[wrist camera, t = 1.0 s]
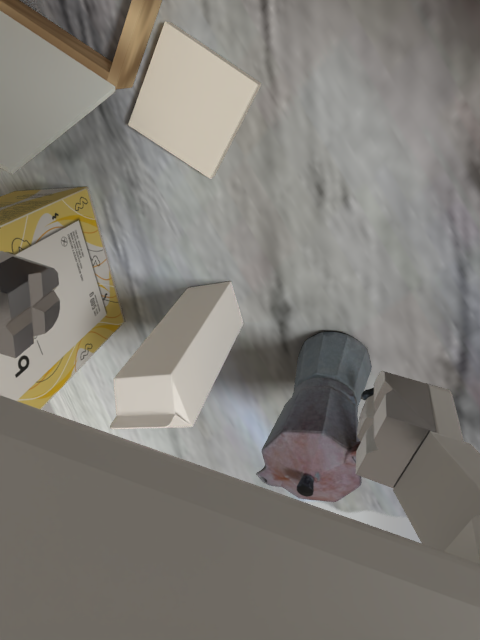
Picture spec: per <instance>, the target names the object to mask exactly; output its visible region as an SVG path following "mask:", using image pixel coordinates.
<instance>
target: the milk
mask: <svg viewBox="0 0 480 640" xmlns="http://www.w3.org/2000/svg"><path fill="white" fill-rule="evenodd" d="M243 323H244V322H243V319H242V316H241V312H240V309H239V306H238V302H237V299H236V296H235V293H234V289H233V286H232V283H231V281H230V282H223V283H217V284H210V285H203V286H197V287H190V288H187V289H186V291H185V292H184V293H183V294H182V296H181V297H180V298H179V299H178V300H177V302H176V303H175V304H174V305H173V307H172V308H171V309H170V310H169V311H168V313H167V314H166V315H165V316H164V318H163V319H162V320H161V321H160V323H159V324H158V325H157V326H156V327H155V329H154V330H153V331H152V332H151V334H150V335H149V336H148V337H147V338H146V340H145V341H144V342H143V343H142V345H141V346H140V347H139V348H138V350H137V351H136V352H135V353H134V354H133V356H132V357H131V358H130V359H129V361H128V362H127V363H126V364H125V366H124V367H123V368H122V369H121V370H120V372H119V373H118V374H117V375H116V377H115V378H114V391H115V403H116V415H117V416H116V418H115V419H114V421H113V422H112V424H111V425H110V428H111V429H133V428H169V427H193V425H194V423H195V421H196V419H197V417H198V415H199V413H200V411H201V409H202V407H203V405H204V403H205V401H206V399H207V397H208V395H209V393H210V391H211V389H212V387H213V384H214V382H215V380H216V378H217V376H218V374H219V372H220V370H221V368H222V366H223V364H224V362H225V360H226V358H227V356H228V354H229V352H230V350H231V348H232V346H233V344H234V342H235V340H236V338H237V336H238V334H239V332H240V330H241V328H242V326H243Z"/></svg>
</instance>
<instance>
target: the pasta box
mask: <svg viewBox="0 0 480 640" xmlns="http://www.w3.org/2000/svg"><path fill="white" fill-rule="evenodd" d="M0 251H3V252H7V253H10V254H13V255H16V256H18V257H22V258H25V259H28V260H31V261H34V262H37V263H40V264H43V265H46V266H49V267H52V268H54V269H55V270H56V271H57V272H58V277H59V285H58V287H57V288H56V289H55V290H54V291H55V293H56V295H57V296H58V298H59V299H60V311H59V316H58V319H57V320H56V322H55V324H54V326H53V327H52V328H51V329H50V330H49V331H48V332H47V333H45V334H42V335H38V336H34V344H32V345H31V346H30V347H29V348H28V349H26V350H25V351H24V352H23V353H22V354H20V355H19V356H18V357H17V358H12V357H9V356H6V355H3V354H0V395H1V396H4V397H7V398H10V399H12V400H15V401H18V402H21V403H24V404H27V405H29V406H32V407H35V408H38V409H42V408H43V407H44V406H45V405H46V403H48V402H49V400H50V399H51V398H52V397H53V396H54V395H55V394H56V393H57V392H58V391H59V390H60V389H61V388H62V387H63V386H64V385H65V384H66V383H67V382H68V381H69V379H70V378H71V377H72V376H73V375H74V374H75V373H76V372H77V371H78V370H79V369H80V368H81V367H82V366H83V365H84V364H85V363H86V362H87V361H88V359H89V358H90V357H91V356H92V355H93V354H94V353H95V352H96V351H97V350H98V349H99V348H100V347H101V346H102V345H103V344H104V343H105V342H106V341H107V340H108V338H109V337H110V336H111V335H112V334H113V333H114V332H115V331H116V330H117V329H118V328H119V327H120V326H121V325H122V324H123V323H124V322H125V319H124V315H123V312H122V308H121V304H120V301H119V297H118V293H117V290H116V286H115V283H114V279H113V275H112V272H111V268H110V264H109V261H108V257H107V253H106V250H105V246H104V243H103V239H102V235H101V232H100V228H99V224H98V221H97V217H96V213H95V210H94V206H93V203H92V199H91V195H90V192H89V188H88V187H75V188H59V189H43V190H26V191H14V192H11V193H9V194H6V195H3V196H1V197H0Z"/></svg>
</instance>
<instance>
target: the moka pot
mask: <svg viewBox="0 0 480 640" xmlns="http://www.w3.org/2000/svg"><path fill="white" fill-rule="evenodd" d="M371 367H372V366H371V361H370V357H369V353H368V350H367V348H366V347H365V346H364V345H363V344H362V343H361V342H359V341H358V340H357V339H355V338H353V337H351V336H349V335H347V334H344V333H338V332H321V333H319V334H316V335H315V336H313V337H311V338H308V339H307V340H306V341H305V342H304V344H303V346H302V349H301V351H300V353H299V357H298V362H297V370H296V378H295V386H294V393H293V396H292V398H291V399H290V400H289V401H288V402H287V403H286V404H285V406H284V408H283V410H282V412H281V414H280V416H279V418H278V419H277V422H276V424H275V426H274V427H273V429H272V431H271V433H270V435H269V437H268V439H267V441H266V443H265V445H264V447H263V448H262V454H263V458H264V461H265V466H264V468H263V469H262V470H261V471H259V472H258V473H256V475H257V476H258V477H259V478H260V479H261V480H262V481H263V482H264V483H266V484H268V485H271V486H277V487H283V488H285V489H286V490H288V491H289V492H290V493H292V494H293V495H295V496H296V497H298V498H301V499H309V500H320V501H329V502H336V501H338V500H340V499H341V498H343V497H344V496H346V495H348V494H349V493H351V492H352V491H354V490H355V489H357V488H358V487H359V486H360V485H361V476H359V475H356V451H357V449H358V447H359V445H360V443H361V442H360V440H359V439H358V437H357V428H358V418H357V413H358V405H359V402H360V400H361V399H363V400H366V399H367V398H368V397H370V396H372V395H374V388H372V389H369V390H365V391H364V389H365V386H366V383H367V380H368V377H369V374H370V372H371Z"/></svg>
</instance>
